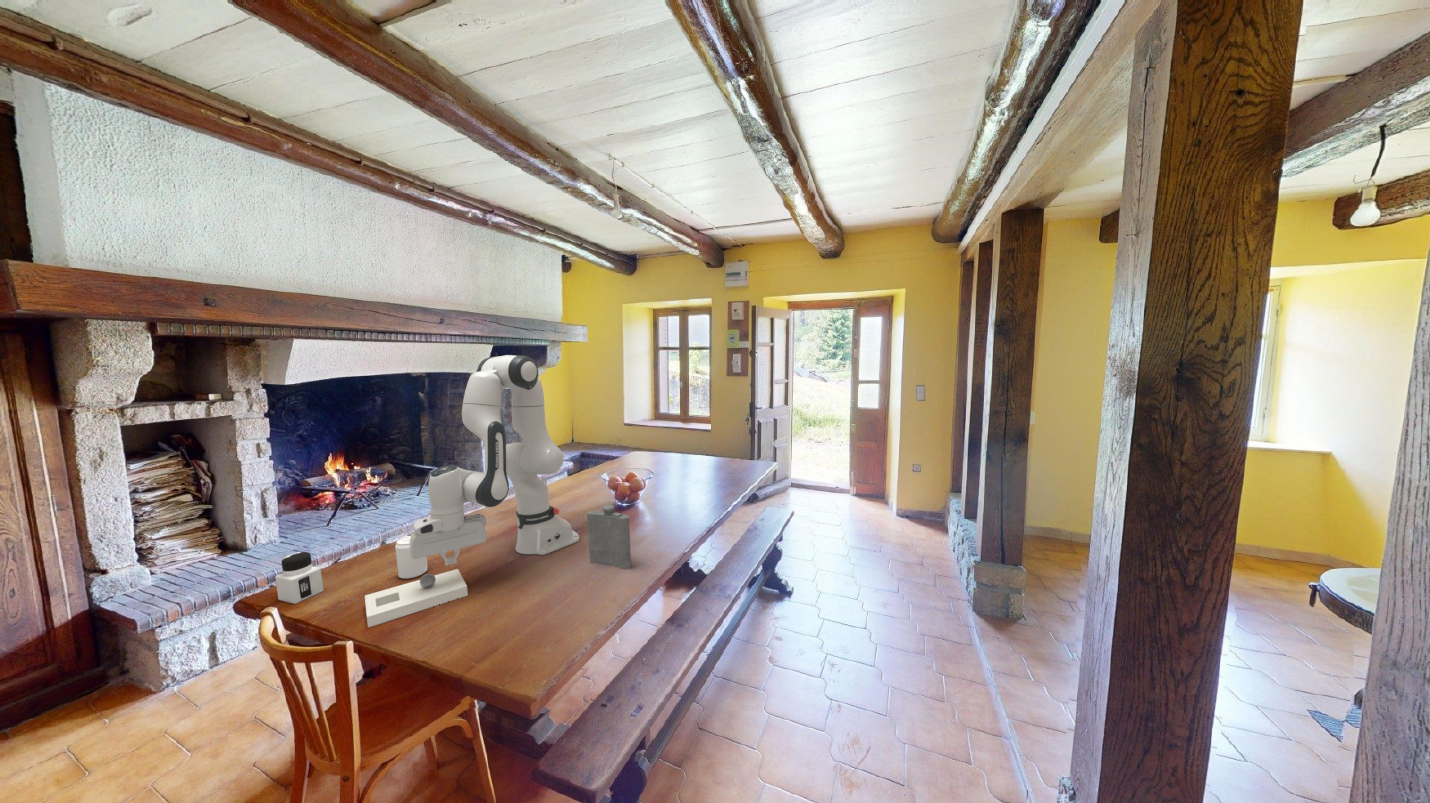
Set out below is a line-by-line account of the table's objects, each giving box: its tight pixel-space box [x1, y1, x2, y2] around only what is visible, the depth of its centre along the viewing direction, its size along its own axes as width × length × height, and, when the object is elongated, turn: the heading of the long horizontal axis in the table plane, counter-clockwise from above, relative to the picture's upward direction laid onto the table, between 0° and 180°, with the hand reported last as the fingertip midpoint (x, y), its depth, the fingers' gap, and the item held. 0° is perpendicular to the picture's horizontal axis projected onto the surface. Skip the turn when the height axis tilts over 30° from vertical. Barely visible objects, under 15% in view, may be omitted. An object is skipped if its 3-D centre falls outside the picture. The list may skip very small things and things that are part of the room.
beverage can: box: [394, 535, 428, 579], centre depth 150 cm, size 8×8×12 cm
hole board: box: [364, 568, 469, 628], centre depth 135 cm, size 24×14×3 cm, turn 129°
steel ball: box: [419, 573, 436, 588], centre depth 136 cm, size 4×4×4 cm
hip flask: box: [586, 504, 632, 570], centre depth 155 cm, size 16×4×20 cm, turn 69°
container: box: [274, 551, 324, 605], centre depth 138 cm, size 8×8×13 cm
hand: (450, 563), depth 140 cm, fingers closed
